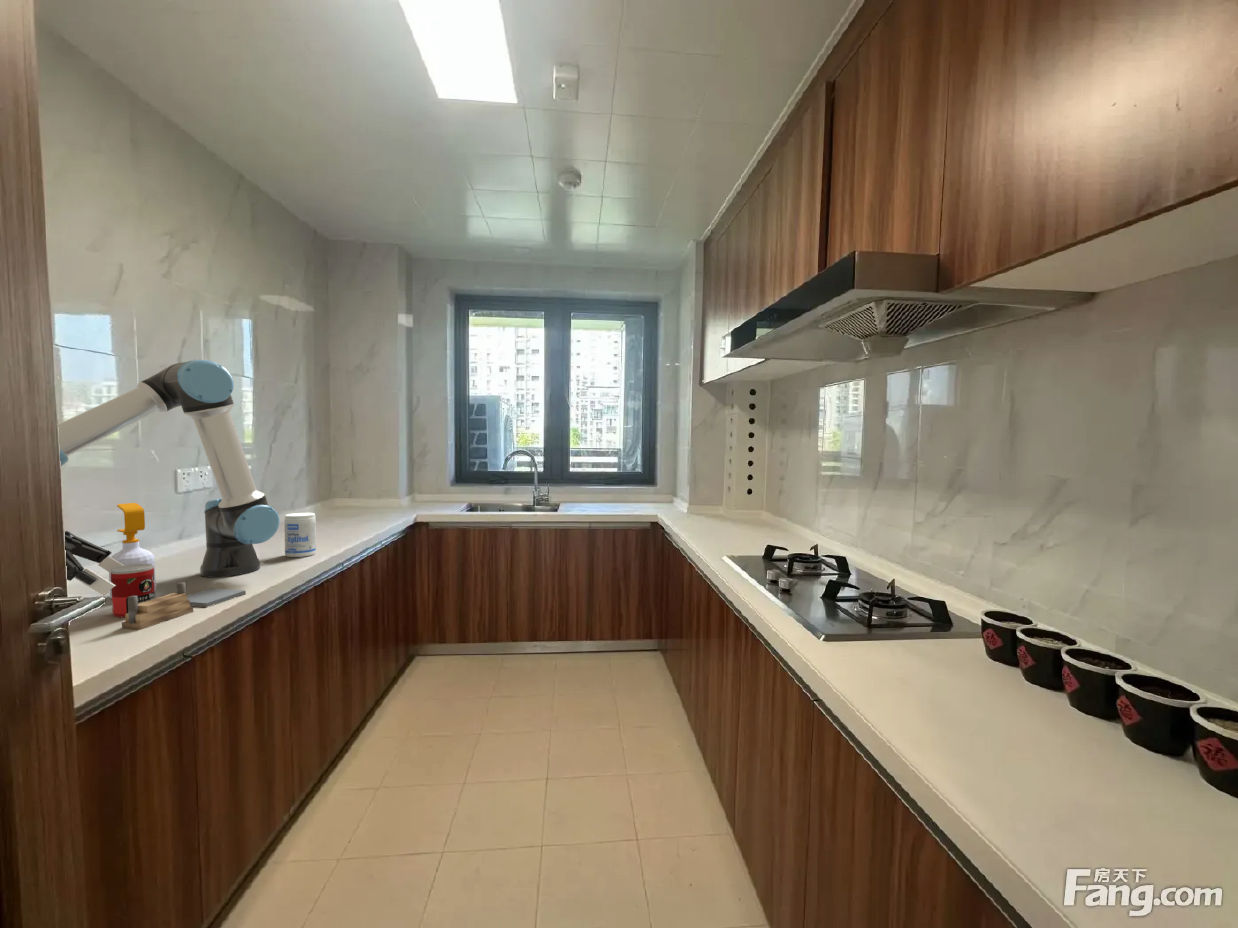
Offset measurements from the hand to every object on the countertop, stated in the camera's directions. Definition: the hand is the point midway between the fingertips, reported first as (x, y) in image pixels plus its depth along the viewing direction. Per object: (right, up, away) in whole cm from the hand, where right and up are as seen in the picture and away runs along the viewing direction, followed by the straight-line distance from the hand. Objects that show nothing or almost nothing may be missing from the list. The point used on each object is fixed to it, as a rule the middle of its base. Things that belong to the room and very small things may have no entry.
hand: (120, 583), depth 126 cm
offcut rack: (+12, -8, -3) cm, 15 cm away
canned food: (+2, -8, +2) cm, 8 cm away
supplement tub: (+5, -4, +63) cm, 64 cm away
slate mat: (+12, -7, +12) cm, 18 cm away
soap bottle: (-11, -7, +16) cm, 20 cm away
